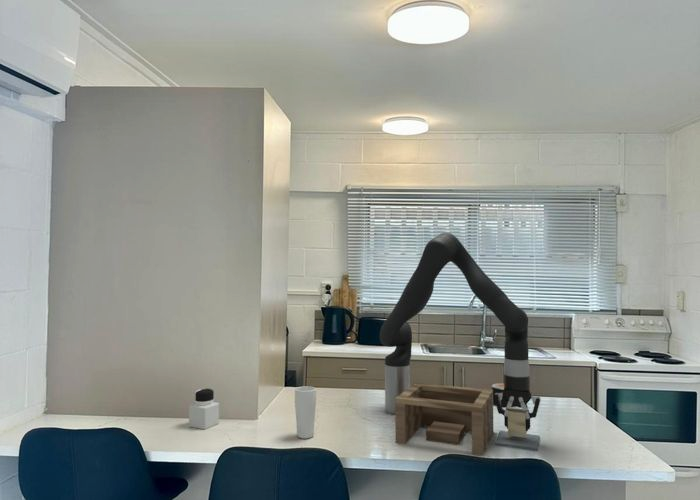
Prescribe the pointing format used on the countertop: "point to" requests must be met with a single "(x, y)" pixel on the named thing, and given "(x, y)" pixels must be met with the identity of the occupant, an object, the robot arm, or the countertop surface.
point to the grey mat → (518, 441)
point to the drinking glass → (305, 411)
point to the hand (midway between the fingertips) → (517, 428)
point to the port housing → (445, 414)
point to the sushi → (498, 389)
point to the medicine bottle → (204, 410)
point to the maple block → (517, 422)
